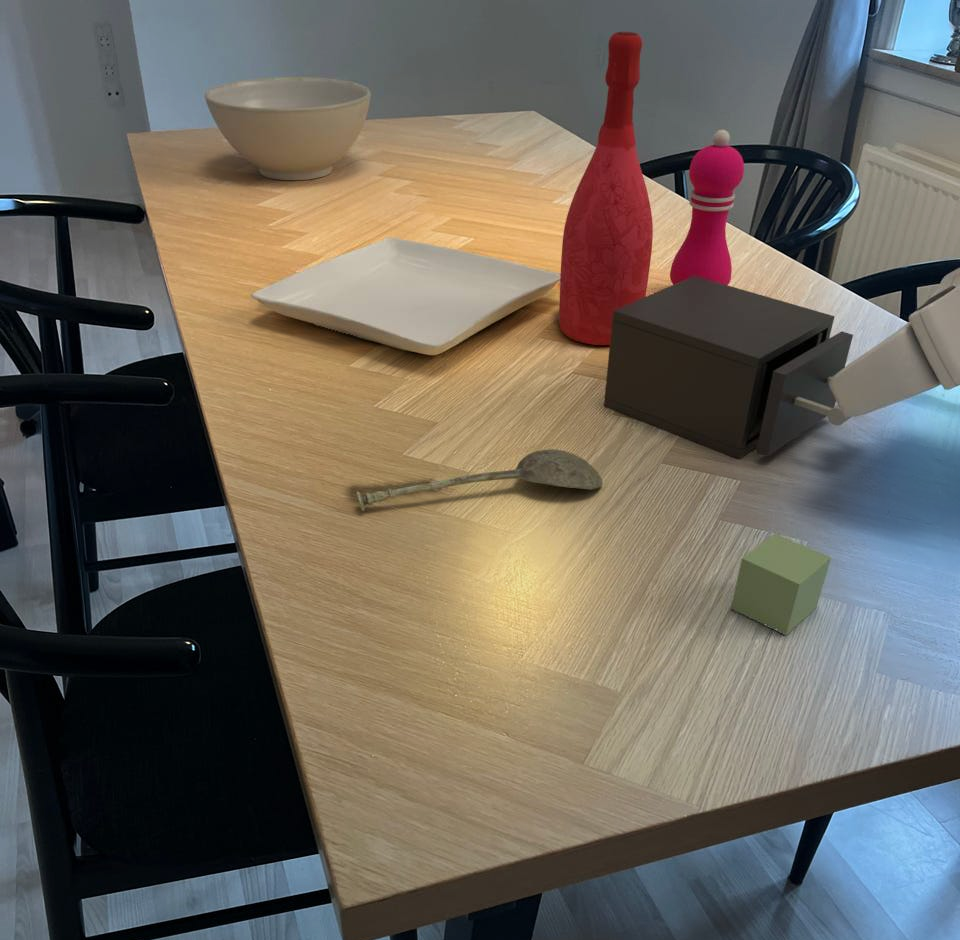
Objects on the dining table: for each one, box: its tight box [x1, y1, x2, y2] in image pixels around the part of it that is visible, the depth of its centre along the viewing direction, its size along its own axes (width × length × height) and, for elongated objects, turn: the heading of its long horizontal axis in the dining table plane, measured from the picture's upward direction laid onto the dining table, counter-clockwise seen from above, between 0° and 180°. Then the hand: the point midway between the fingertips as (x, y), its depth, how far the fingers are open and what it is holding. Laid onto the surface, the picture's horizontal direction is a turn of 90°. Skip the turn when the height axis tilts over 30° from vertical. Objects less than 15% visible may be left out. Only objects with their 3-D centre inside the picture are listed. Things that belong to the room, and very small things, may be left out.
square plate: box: [250, 237, 561, 356], centre depth 117 cm, size 27×27×4 cm
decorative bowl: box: [204, 76, 372, 181], centre depth 164 cm, size 27×27×12 cm
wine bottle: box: [558, 31, 654, 346], centre depth 104 cm, size 10×10×30 cm
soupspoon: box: [356, 448, 603, 513], centre depth 85 cm, size 22×3×7 cm
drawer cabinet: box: [603, 276, 835, 460], centre depth 96 cm, size 16×14×10 cm
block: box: [730, 533, 832, 635], centre depth 71 cm, size 5×5×5 cm
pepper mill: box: [669, 129, 745, 286], centre depth 113 cm, size 7×7×20 cm
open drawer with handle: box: [747, 331, 854, 457], centre depth 93 cm, size 20×13×8 cm, turn 47°
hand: (842, 389), depth 88 cm, fingers closed, pressing on open drawer with handle
